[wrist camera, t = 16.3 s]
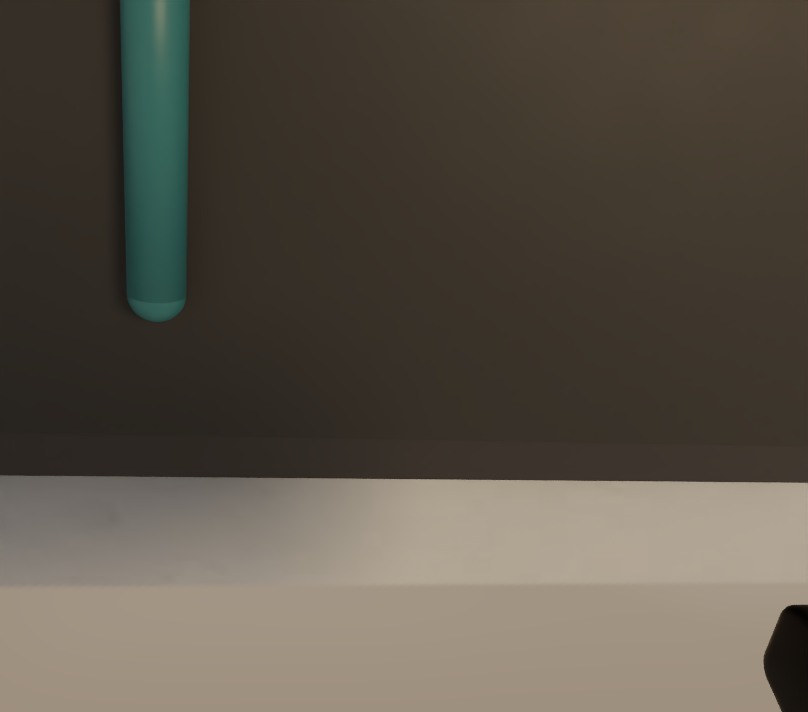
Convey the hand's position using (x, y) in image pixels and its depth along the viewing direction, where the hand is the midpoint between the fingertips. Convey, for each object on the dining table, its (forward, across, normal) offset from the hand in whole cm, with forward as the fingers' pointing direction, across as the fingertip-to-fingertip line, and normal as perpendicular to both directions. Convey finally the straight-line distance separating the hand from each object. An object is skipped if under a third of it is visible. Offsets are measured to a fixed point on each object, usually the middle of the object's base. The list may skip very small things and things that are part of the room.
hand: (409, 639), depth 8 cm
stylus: (+11, +5, +1) cm, 12 cm away
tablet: (+13, -3, -4) cm, 14 cm away
